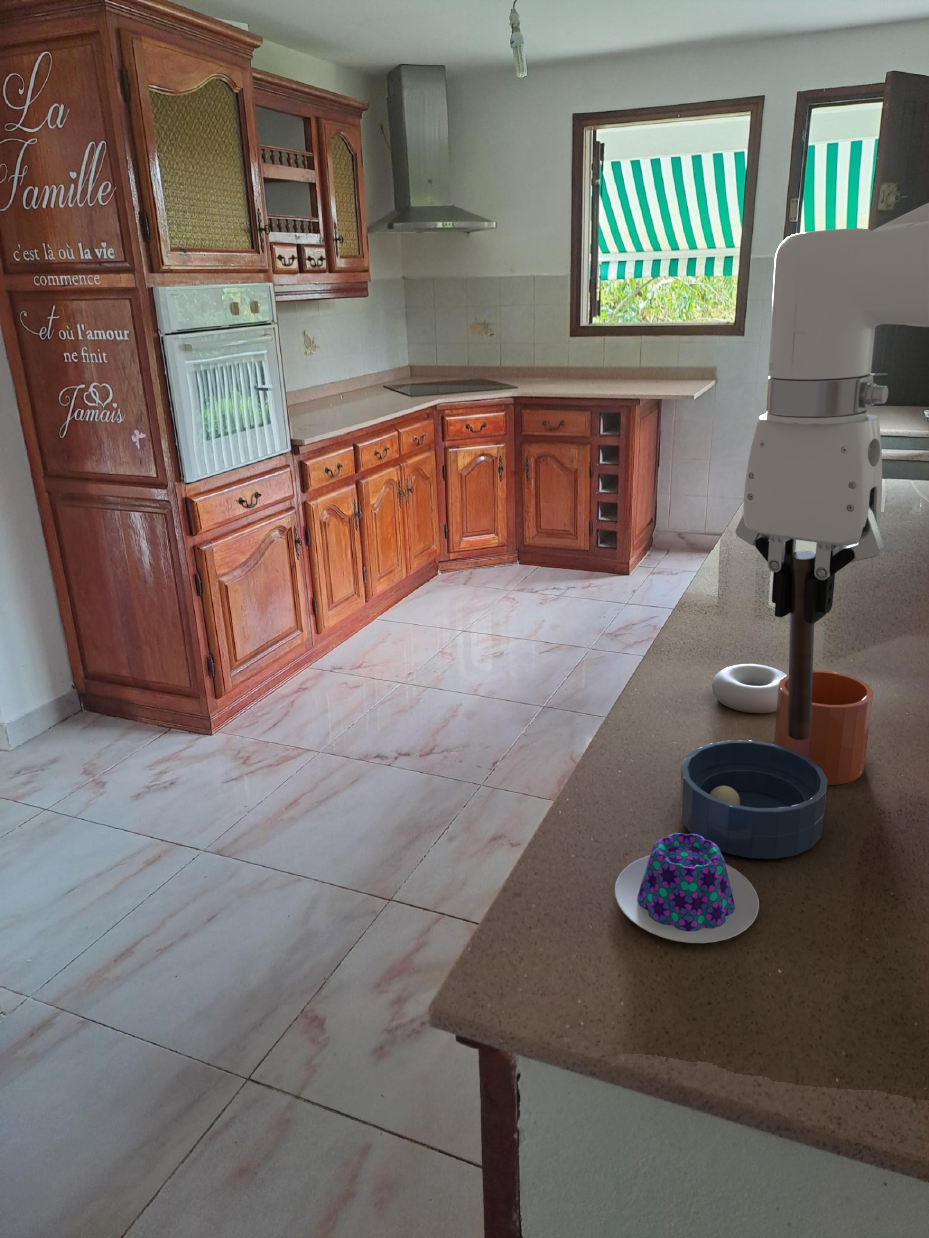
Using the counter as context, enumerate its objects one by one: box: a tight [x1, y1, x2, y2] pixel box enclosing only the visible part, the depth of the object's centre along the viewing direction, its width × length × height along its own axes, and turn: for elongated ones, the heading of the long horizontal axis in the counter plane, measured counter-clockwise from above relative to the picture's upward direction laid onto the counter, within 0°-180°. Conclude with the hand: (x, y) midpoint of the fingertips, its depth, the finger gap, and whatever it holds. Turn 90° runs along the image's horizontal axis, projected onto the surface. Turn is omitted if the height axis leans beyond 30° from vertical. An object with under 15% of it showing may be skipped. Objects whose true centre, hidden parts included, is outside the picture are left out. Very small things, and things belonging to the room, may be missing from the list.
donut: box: [711, 663, 787, 714], centre depth 110 cm, size 10×4×10 cm
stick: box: [788, 550, 816, 740], centre depth 78 cm, size 2×2×18 cm
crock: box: [773, 669, 874, 786], centre depth 94 cm, size 9×9×9 cm
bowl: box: [679, 739, 828, 860], centre depth 85 cm, size 13×13×6 cm
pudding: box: [614, 832, 760, 944], centre depth 75 cm, size 12×12×5 cm
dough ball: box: [710, 786, 740, 805], centre depth 86 cm, size 3×3×3 cm
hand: (800, 614), depth 76 cm, fingers closed on stick, 2 cm apart
